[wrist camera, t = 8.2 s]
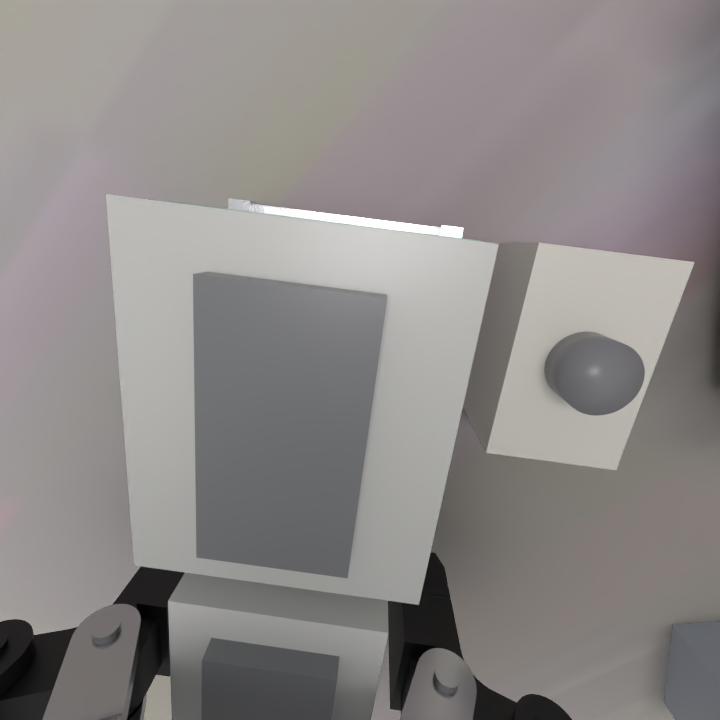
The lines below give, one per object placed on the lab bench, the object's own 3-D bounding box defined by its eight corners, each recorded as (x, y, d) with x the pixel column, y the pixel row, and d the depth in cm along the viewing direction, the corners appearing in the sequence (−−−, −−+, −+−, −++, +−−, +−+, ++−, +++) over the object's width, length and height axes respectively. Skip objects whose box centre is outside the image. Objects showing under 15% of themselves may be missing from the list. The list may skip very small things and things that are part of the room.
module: (384, 439, 13) (389, 656, 6) (363, 560, 15) (350, 840, 8) (273, 423, 13) (155, 622, 6) (265, 546, 15) (164, 812, 8)
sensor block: (598, 256, 13) (733, 264, 8) (552, 409, 14) (639, 493, 9) (490, 242, 13) (558, 242, 8) (457, 396, 14) (496, 473, 9)
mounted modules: (431, 242, 11) (515, 239, 4) (356, 680, 17) (340, 987, 10) (264, 221, 11) (77, 184, 4) (245, 664, 17) (151, 959, 10)
